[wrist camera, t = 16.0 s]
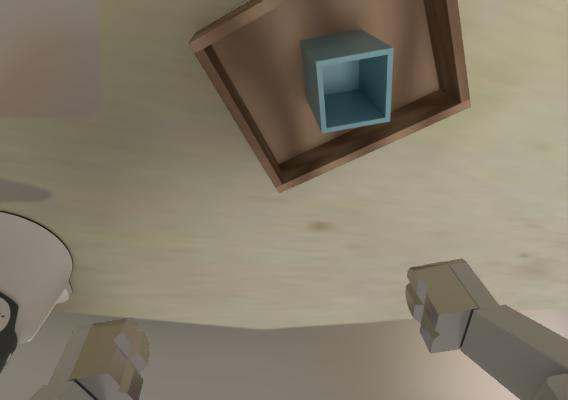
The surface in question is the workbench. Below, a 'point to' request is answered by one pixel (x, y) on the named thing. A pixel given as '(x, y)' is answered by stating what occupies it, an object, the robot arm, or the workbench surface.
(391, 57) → the teal crate
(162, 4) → the workbench surface
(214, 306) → the workbench surface
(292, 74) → the walnut crate
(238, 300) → the workbench surface
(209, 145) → the workbench surface
